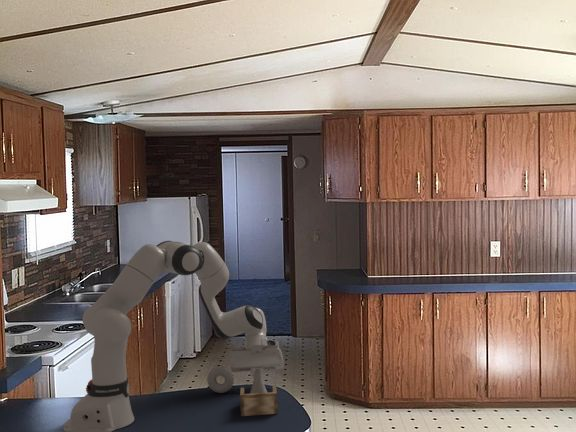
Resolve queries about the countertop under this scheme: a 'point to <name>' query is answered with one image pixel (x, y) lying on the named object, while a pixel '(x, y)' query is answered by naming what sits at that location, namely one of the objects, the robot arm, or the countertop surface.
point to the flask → (258, 383)
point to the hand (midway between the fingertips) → (257, 380)
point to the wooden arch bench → (258, 403)
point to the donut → (214, 384)
